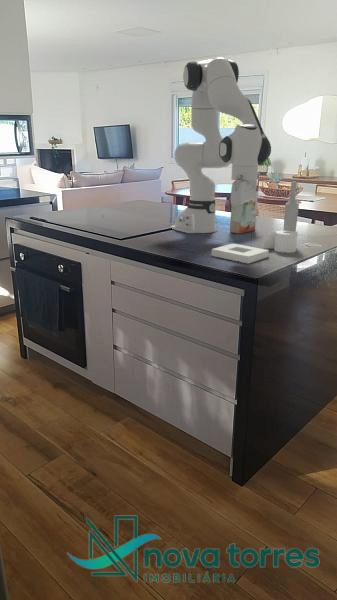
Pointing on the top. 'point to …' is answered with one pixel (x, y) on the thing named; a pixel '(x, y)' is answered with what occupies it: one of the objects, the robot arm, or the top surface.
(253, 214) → the cracker box
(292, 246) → the toilet paper
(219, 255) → the socket plate
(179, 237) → the top surface
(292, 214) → the bottle
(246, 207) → the plug
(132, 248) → the top surface
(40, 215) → the top surface
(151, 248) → the top surface
